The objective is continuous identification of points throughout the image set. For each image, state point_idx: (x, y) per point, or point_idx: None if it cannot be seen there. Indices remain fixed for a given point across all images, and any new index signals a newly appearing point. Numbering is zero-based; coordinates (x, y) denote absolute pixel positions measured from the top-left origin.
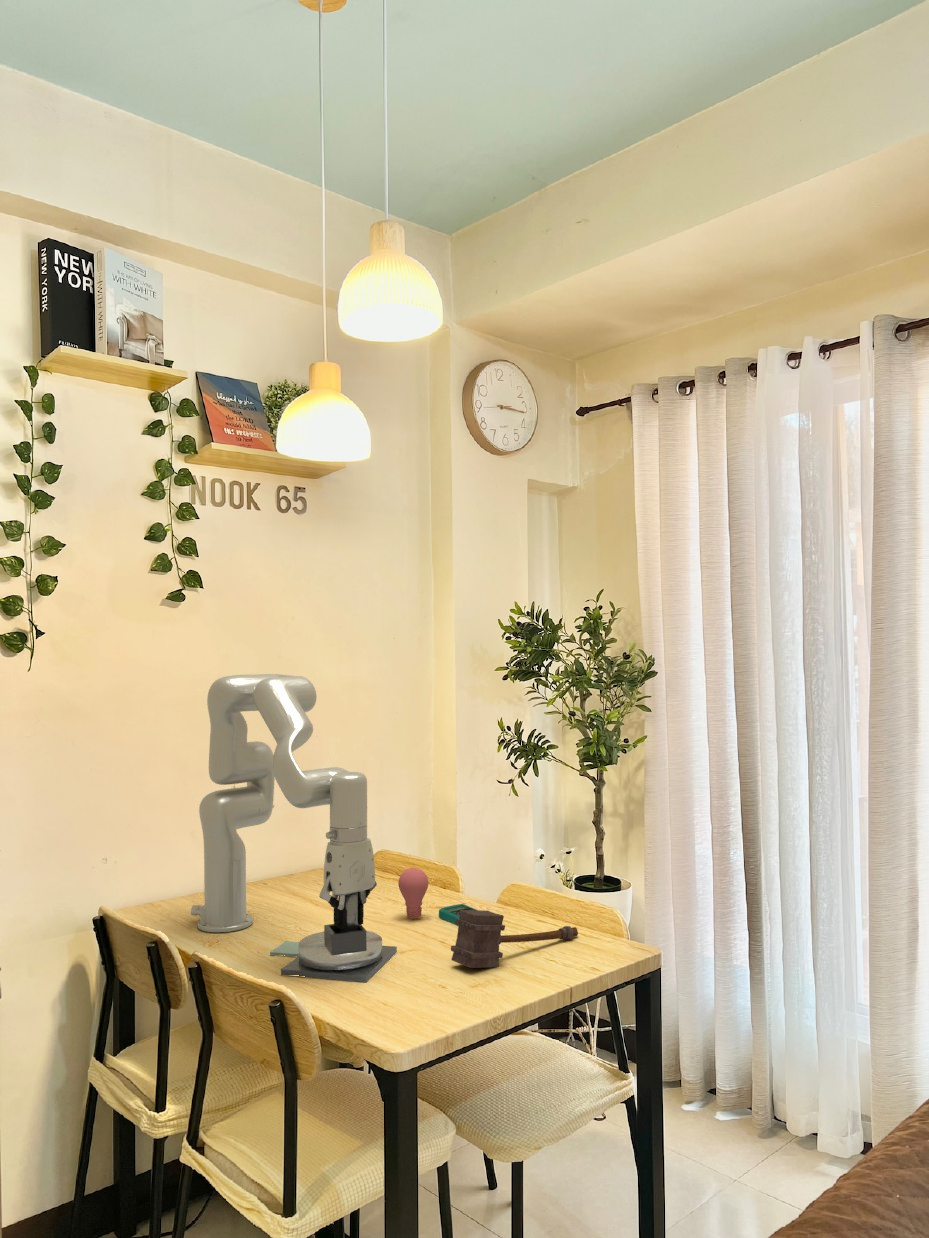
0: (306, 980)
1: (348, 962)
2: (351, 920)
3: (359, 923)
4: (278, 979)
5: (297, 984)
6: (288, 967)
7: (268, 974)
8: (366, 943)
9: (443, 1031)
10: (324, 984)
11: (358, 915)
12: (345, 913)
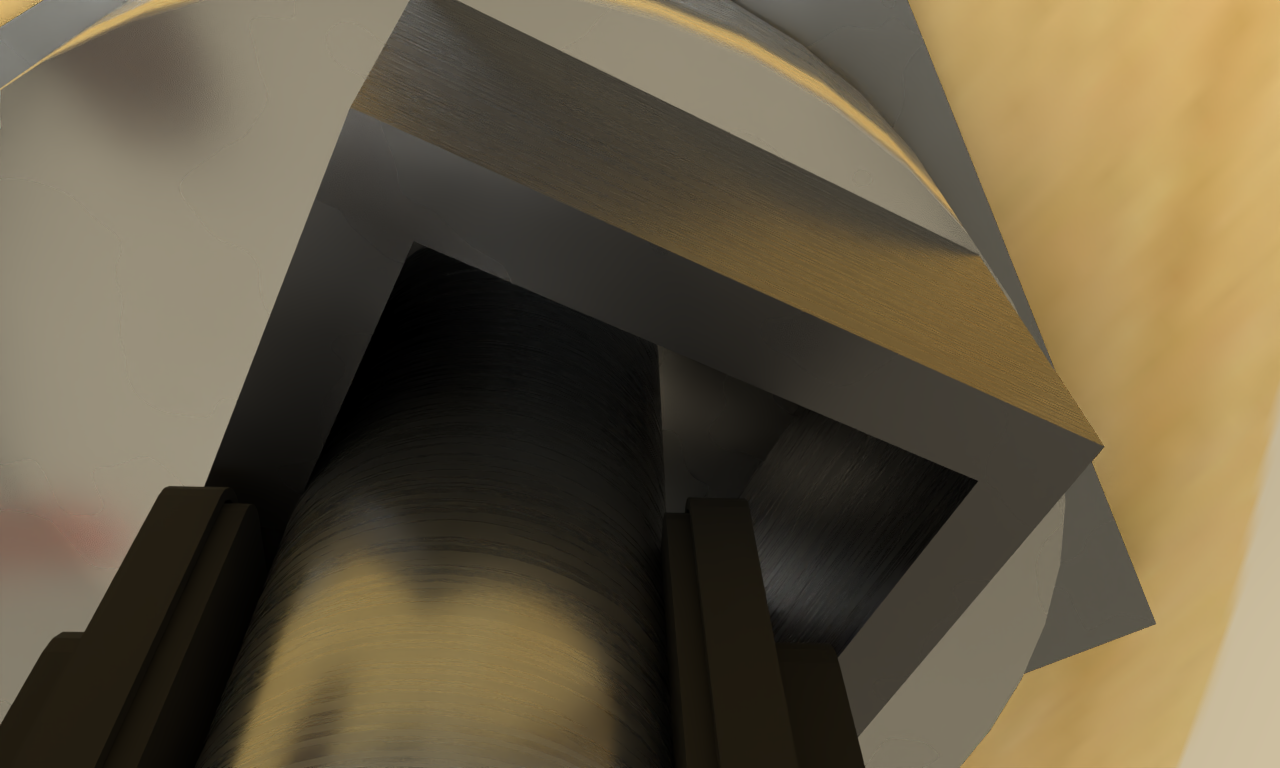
0: (1115, 295)
1: (763, 41)
2: (542, 563)
3: (251, 521)
4: (1233, 516)
5: (1269, 271)
6: (1069, 612)
7: (1165, 666)
8: (190, 290)
9: None
10: (1116, 25)
11: (208, 677)
12: (725, 763)
